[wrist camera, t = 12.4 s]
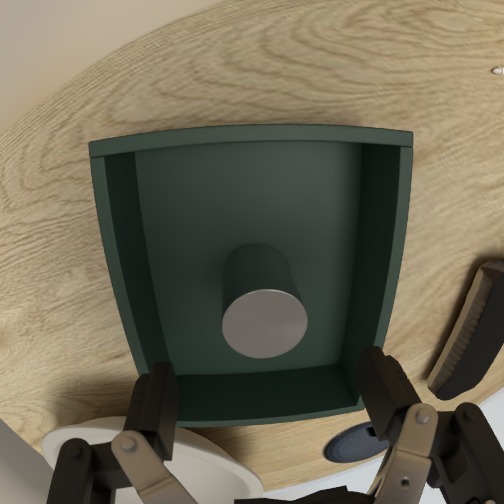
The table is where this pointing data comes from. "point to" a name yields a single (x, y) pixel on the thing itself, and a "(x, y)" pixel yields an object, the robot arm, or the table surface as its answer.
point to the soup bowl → (171, 462)
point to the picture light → (499, 70)
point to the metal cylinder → (261, 303)
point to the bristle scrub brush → (473, 336)
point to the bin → (249, 232)
